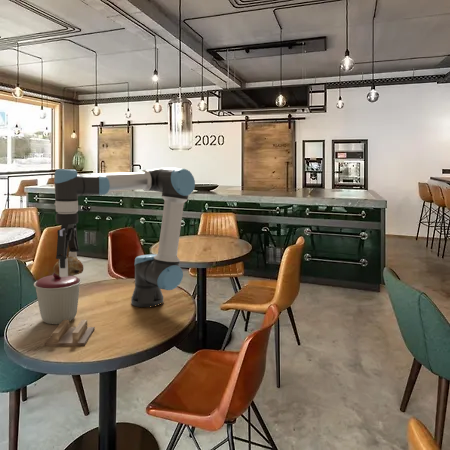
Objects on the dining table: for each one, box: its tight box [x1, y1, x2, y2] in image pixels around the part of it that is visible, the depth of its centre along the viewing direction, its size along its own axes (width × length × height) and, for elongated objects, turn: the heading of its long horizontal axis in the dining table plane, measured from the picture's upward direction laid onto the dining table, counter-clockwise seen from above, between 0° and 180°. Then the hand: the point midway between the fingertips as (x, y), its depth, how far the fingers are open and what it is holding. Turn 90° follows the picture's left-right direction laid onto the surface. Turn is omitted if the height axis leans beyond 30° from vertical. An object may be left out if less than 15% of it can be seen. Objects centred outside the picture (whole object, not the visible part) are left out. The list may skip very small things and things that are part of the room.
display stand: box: [44, 319, 96, 347], centre depth 147 cm, size 14×14×4 cm
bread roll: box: [53, 255, 84, 276], centre depth 143 cm, size 10×10×8 cm
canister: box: [33, 272, 82, 325], centre depth 162 cm, size 18×18×21 cm
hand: (68, 272), depth 143 cm, fingers closed on bread roll, 10 cm apart
